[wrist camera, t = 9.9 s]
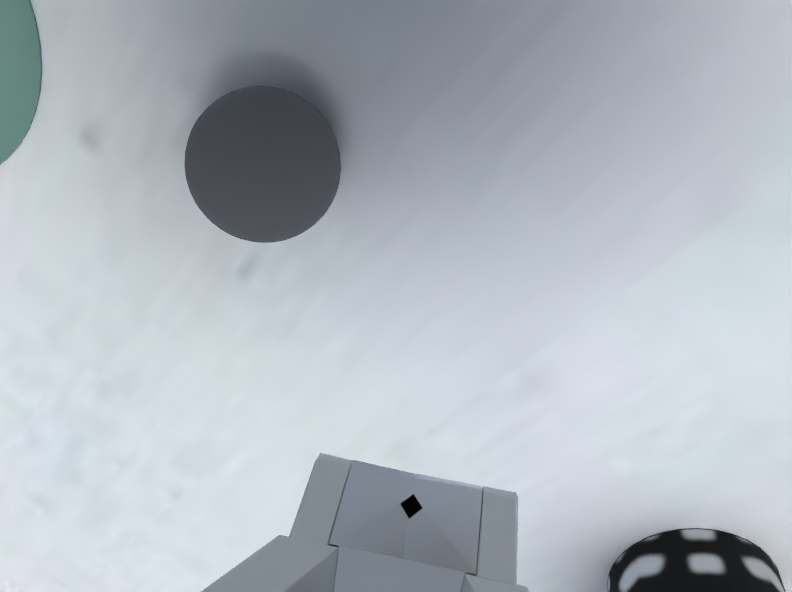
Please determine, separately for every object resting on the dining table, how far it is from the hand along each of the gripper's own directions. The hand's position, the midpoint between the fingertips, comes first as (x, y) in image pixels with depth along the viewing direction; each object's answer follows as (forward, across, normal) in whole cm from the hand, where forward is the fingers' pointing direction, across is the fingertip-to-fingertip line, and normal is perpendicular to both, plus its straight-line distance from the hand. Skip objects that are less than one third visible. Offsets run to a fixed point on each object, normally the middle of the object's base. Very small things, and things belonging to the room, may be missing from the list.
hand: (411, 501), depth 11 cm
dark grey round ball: (+17, +7, +2) cm, 18 cm away
